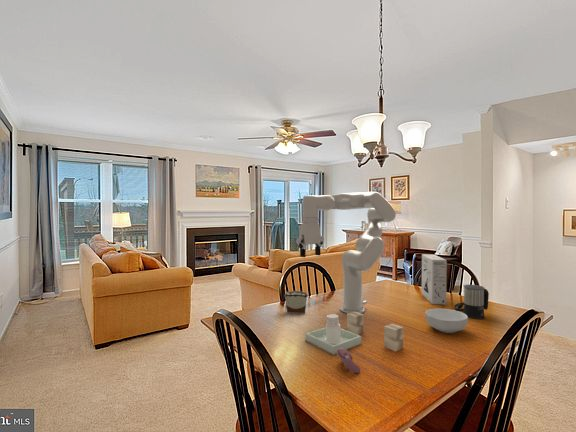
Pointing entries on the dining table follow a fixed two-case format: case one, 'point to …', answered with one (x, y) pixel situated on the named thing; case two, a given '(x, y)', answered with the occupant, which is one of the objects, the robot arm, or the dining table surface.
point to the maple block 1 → (355, 322)
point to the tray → (319, 341)
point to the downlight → (333, 330)
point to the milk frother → (474, 301)
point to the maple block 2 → (393, 337)
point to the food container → (296, 301)
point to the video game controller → (348, 360)
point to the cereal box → (434, 278)
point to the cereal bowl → (446, 320)
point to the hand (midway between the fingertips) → (310, 256)
